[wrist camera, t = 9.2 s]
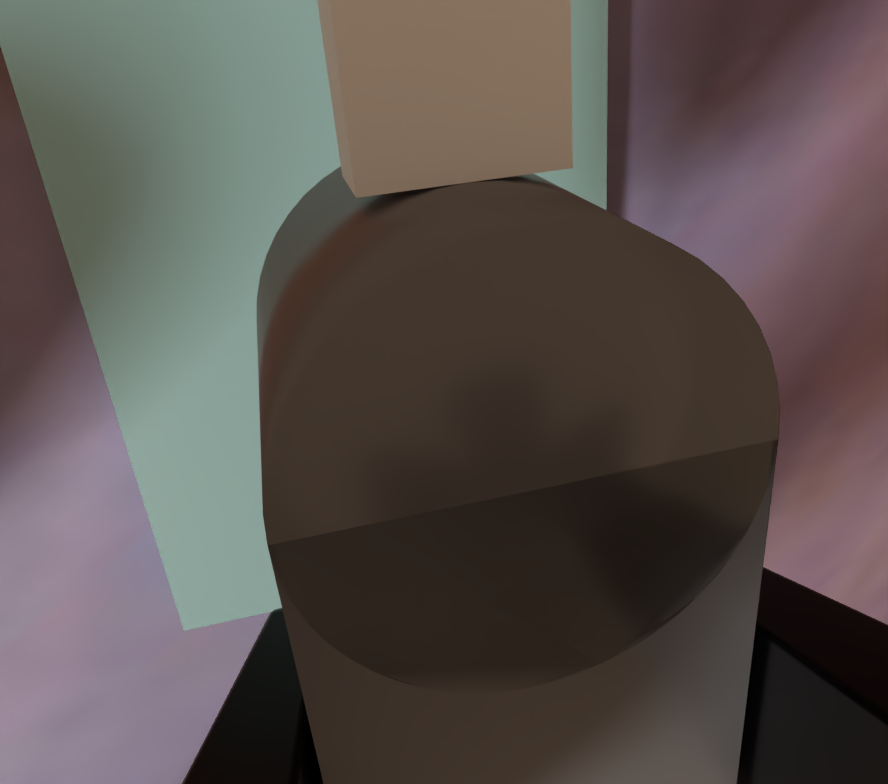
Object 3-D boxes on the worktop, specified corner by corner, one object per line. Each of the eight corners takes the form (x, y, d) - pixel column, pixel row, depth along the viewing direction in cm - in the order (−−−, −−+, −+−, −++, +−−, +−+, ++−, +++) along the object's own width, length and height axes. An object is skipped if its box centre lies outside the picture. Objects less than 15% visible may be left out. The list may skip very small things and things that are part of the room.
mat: (590, 518, 23) (603, 538, 23) (186, 606, 21) (183, 630, 21) (589, -99, 16) (608, -106, 15) (-15, -53, 14) (-33, -58, 13)
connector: (586, 734, 13) (711, 992, 10) (354, 796, 12) (396, 1098, 9) (579, -134, 8) (864, -272, 4) (166, -105, 7) (84, -239, 3)
